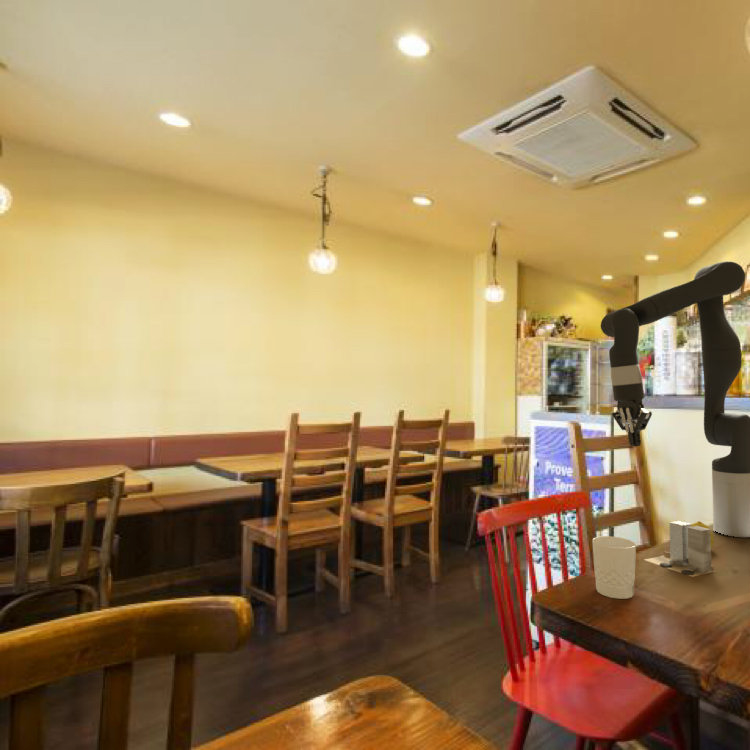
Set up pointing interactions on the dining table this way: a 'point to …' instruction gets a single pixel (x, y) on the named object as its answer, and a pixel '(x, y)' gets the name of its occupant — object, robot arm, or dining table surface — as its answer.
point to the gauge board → (692, 554)
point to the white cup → (614, 566)
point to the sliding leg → (679, 543)
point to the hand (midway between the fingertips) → (635, 446)
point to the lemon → (703, 527)
